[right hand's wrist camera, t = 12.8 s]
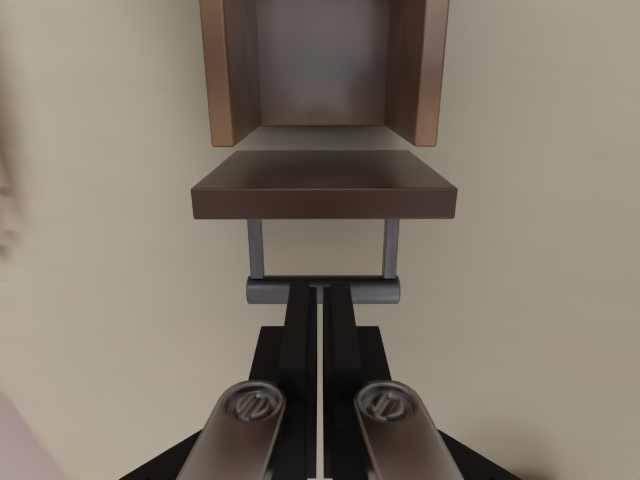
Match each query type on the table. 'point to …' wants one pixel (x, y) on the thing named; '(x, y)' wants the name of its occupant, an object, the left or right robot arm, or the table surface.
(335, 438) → the right robot arm
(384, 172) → the drawer
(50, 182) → the table surface
